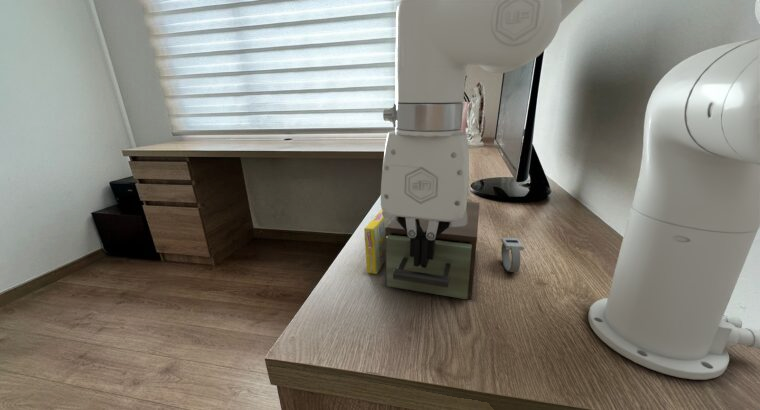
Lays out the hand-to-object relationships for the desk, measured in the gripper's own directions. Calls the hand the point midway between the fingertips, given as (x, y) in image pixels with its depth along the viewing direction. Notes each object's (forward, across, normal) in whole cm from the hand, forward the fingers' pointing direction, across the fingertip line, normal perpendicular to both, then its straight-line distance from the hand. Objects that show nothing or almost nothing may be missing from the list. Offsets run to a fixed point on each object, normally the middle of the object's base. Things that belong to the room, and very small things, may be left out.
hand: (421, 262), depth 42 cm
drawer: (+6, 0, +6) cm, 8 cm away
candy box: (+7, -9, +14) cm, 18 cm away
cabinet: (+7, 0, +11) cm, 13 cm away
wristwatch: (+7, +12, +14) cm, 20 cm away
